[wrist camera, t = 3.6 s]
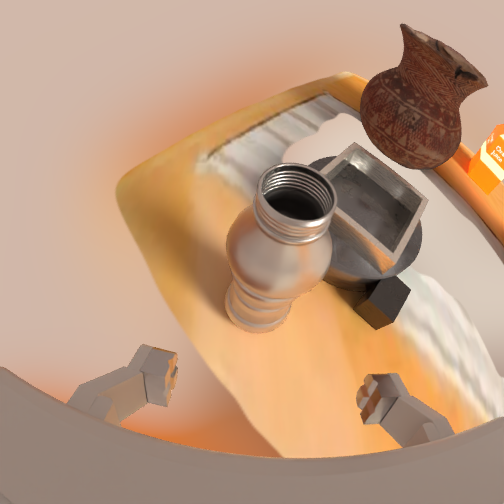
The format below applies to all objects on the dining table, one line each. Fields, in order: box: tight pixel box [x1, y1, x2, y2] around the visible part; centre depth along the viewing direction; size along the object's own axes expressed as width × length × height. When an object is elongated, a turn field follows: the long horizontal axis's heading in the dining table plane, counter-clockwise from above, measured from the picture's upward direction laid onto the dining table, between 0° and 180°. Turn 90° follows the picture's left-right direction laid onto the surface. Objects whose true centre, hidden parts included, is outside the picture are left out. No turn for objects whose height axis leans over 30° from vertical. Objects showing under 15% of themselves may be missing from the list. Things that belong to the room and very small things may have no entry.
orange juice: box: [468, 124, 504, 195], centre depth 39 cm, size 8×9×20 cm
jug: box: [360, 24, 488, 170], centre depth 36 cm, size 22×21×25 cm
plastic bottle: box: [225, 163, 337, 333], centre depth 21 cm, size 6×7×20 cm
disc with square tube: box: [308, 142, 428, 330], centre depth 32 cm, size 18×20×8 cm
